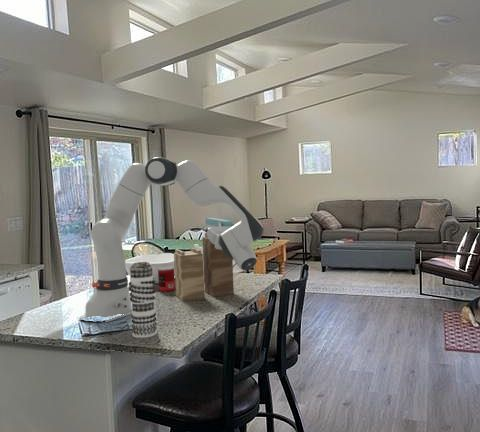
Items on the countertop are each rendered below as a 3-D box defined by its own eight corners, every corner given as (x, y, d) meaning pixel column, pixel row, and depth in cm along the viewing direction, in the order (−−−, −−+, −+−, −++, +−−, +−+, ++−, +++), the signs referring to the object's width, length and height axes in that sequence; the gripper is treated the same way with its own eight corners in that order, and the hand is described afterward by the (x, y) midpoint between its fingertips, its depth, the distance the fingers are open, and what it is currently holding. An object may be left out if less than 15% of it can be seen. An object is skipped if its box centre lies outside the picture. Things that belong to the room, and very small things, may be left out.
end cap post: (233, 294, 232) (231, 233, 230) (213, 296, 228) (210, 235, 226) (224, 289, 243) (222, 231, 241) (204, 291, 239) (202, 233, 237)
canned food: (176, 288, 250) (175, 266, 249) (172, 291, 242) (171, 269, 241) (161, 288, 251) (160, 266, 250) (157, 292, 243) (156, 269, 242)
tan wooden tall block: (204, 298, 227) (202, 250, 225) (183, 300, 223) (180, 252, 221) (196, 292, 238) (194, 247, 236) (175, 295, 234) (173, 249, 232)
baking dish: (146, 274, 290) (145, 252, 290) (192, 275, 282) (191, 253, 281) (114, 287, 258) (113, 262, 257) (165, 288, 249) (164, 263, 249)
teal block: (232, 227, 219) (232, 221, 219) (225, 228, 218) (224, 221, 218) (212, 223, 243) (212, 217, 243) (205, 224, 242) (205, 218, 242)
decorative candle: (160, 329, 181) (156, 260, 179) (154, 337, 172) (151, 265, 170) (135, 330, 181) (131, 261, 179) (128, 338, 172) (124, 265, 170)
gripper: (259, 233, 214) (248, 215, 225) (214, 236, 206) (204, 218, 217) (256, 245, 218) (245, 227, 228) (212, 249, 210) (202, 230, 220)
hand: (225, 223), depth 222 cm, fingers closed on teal block, 3 cm apart
